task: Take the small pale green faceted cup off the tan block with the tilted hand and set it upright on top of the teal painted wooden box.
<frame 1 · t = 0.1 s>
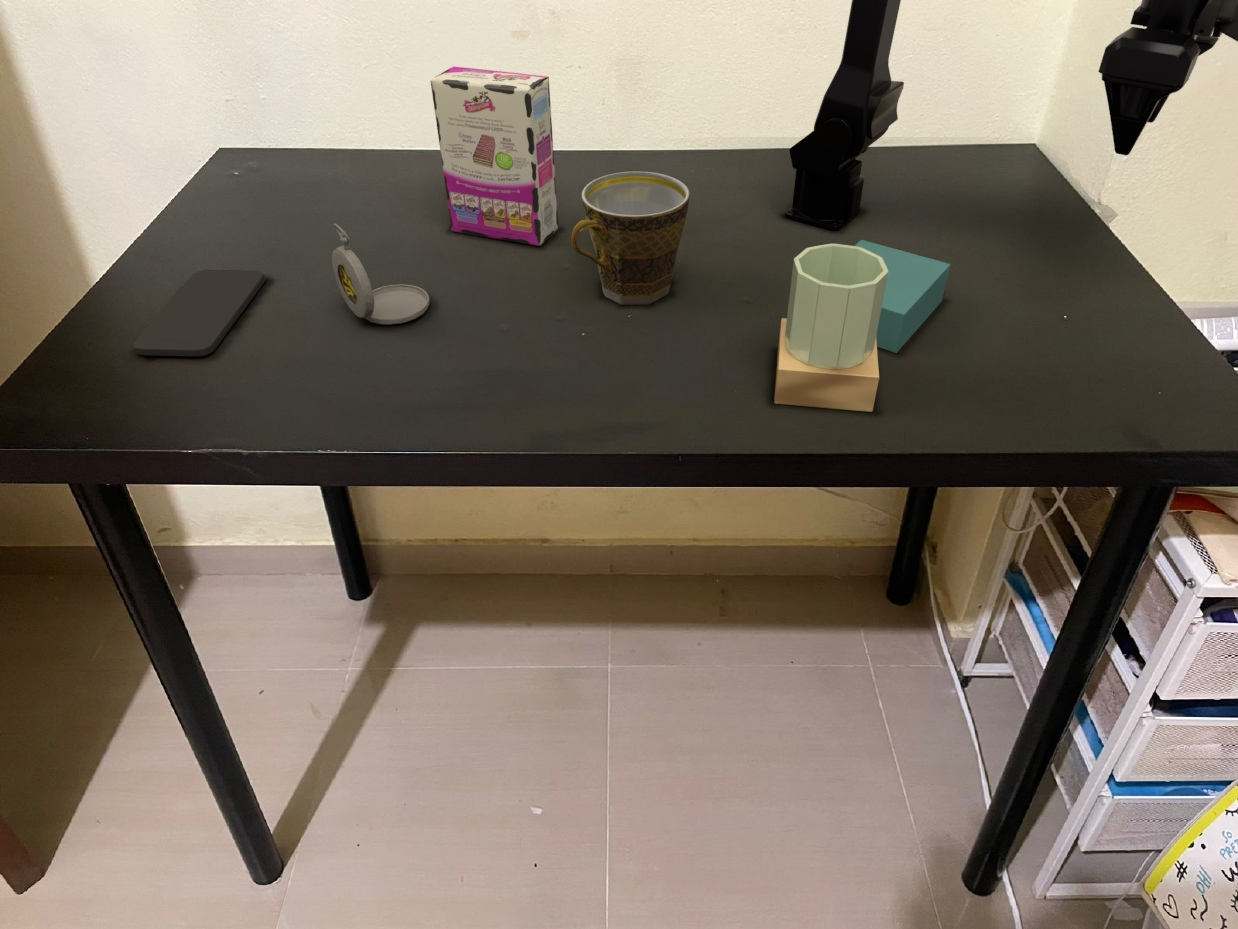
hand: (1135, 137, 83), 15 cm above the table, tool pointing down, fingers open, 9 cm apart
ceramic cup: (625, 296, 93), on the table
candy bar box: (505, 232, 104), on the table
pale green faceted cup: (828, 346, 78), point 3 cm above the table, touching tan block
pocket watch: (384, 315, 90), on the table
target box: (874, 312, 89), on the table
tan block: (823, 380, 81), on the table
phone: (204, 316, 90), on the table
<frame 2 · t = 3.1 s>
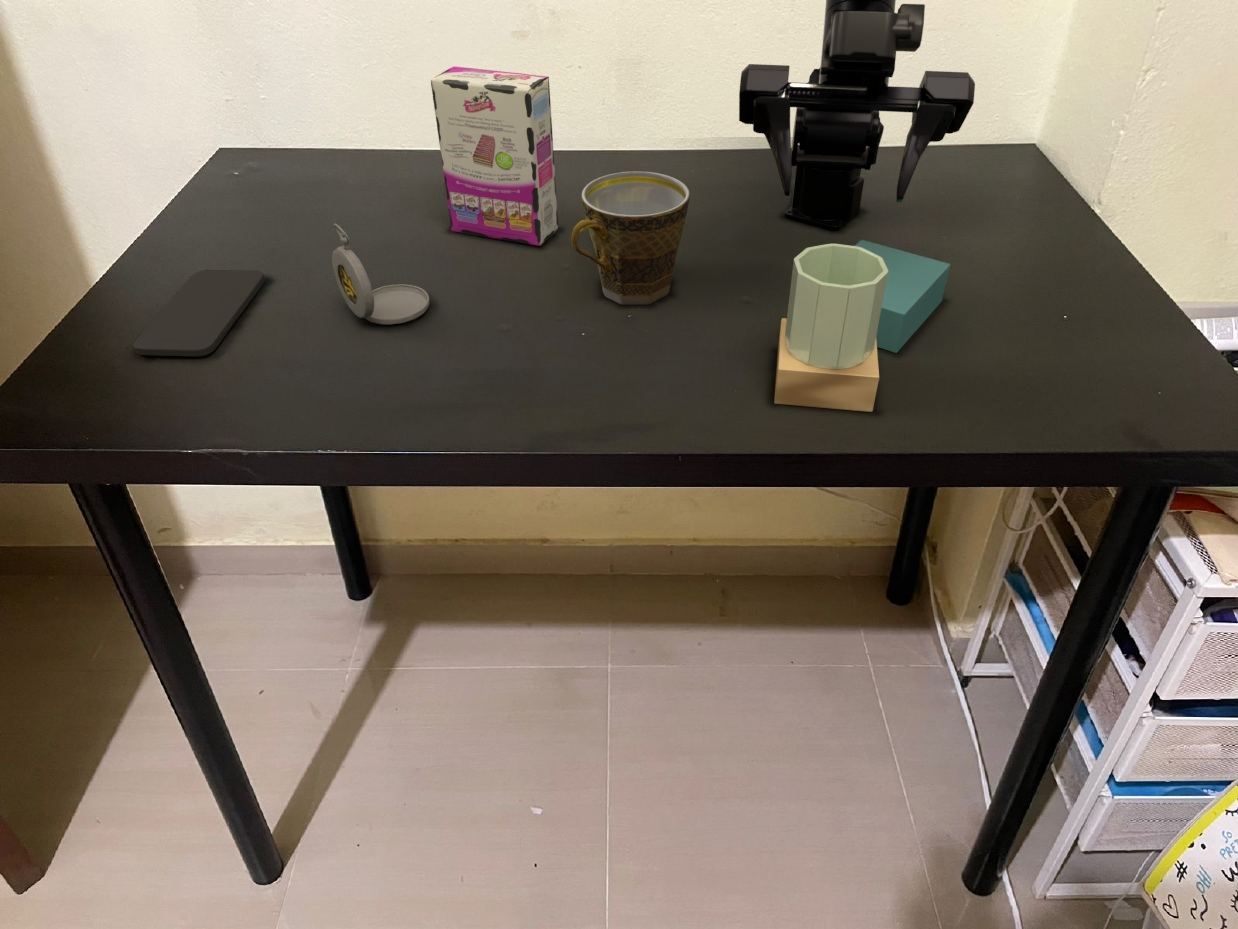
hand: (843, 197, 78), 13 cm above the table, tool tilted 45°, fingers open, 9 cm apart
nothing on the table moved.
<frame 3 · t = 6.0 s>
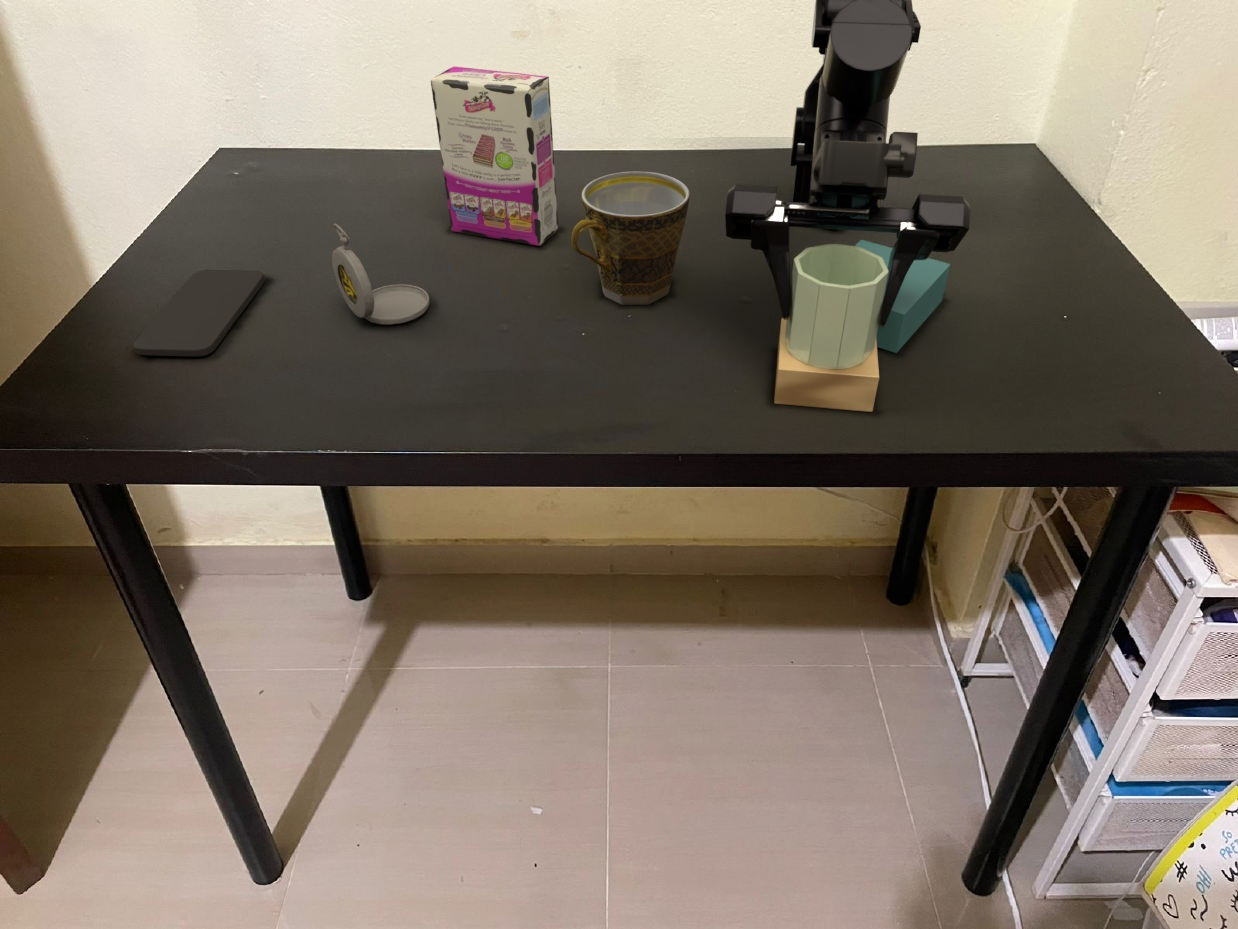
hand: (833, 322, 75), 7 cm above the table, tool tilted 45°, fingers closed on pale green faceted cup, 7 cm apart
pale green faceted cup: (828, 346, 78), point 4 cm above the table, touching gripper, tan block
everything else where it was.
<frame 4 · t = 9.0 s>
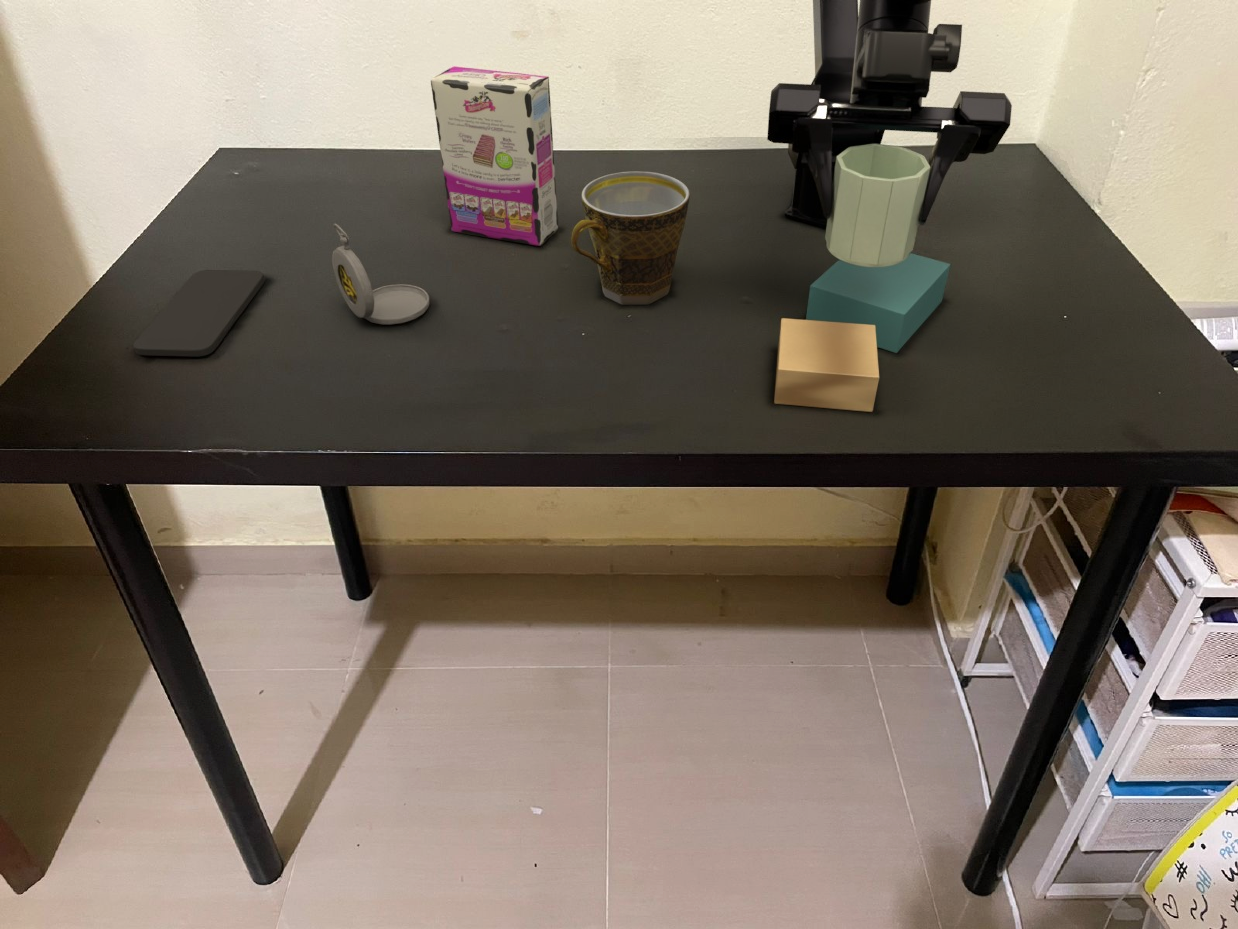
hand: (874, 220, 77), 12 cm above the table, tool tilted 45°, fingers closed on pale green faceted cup, 7 cm apart
pale green faceted cup: (867, 247, 80), point 9 cm above the table, touching gripper
everything else where it was.
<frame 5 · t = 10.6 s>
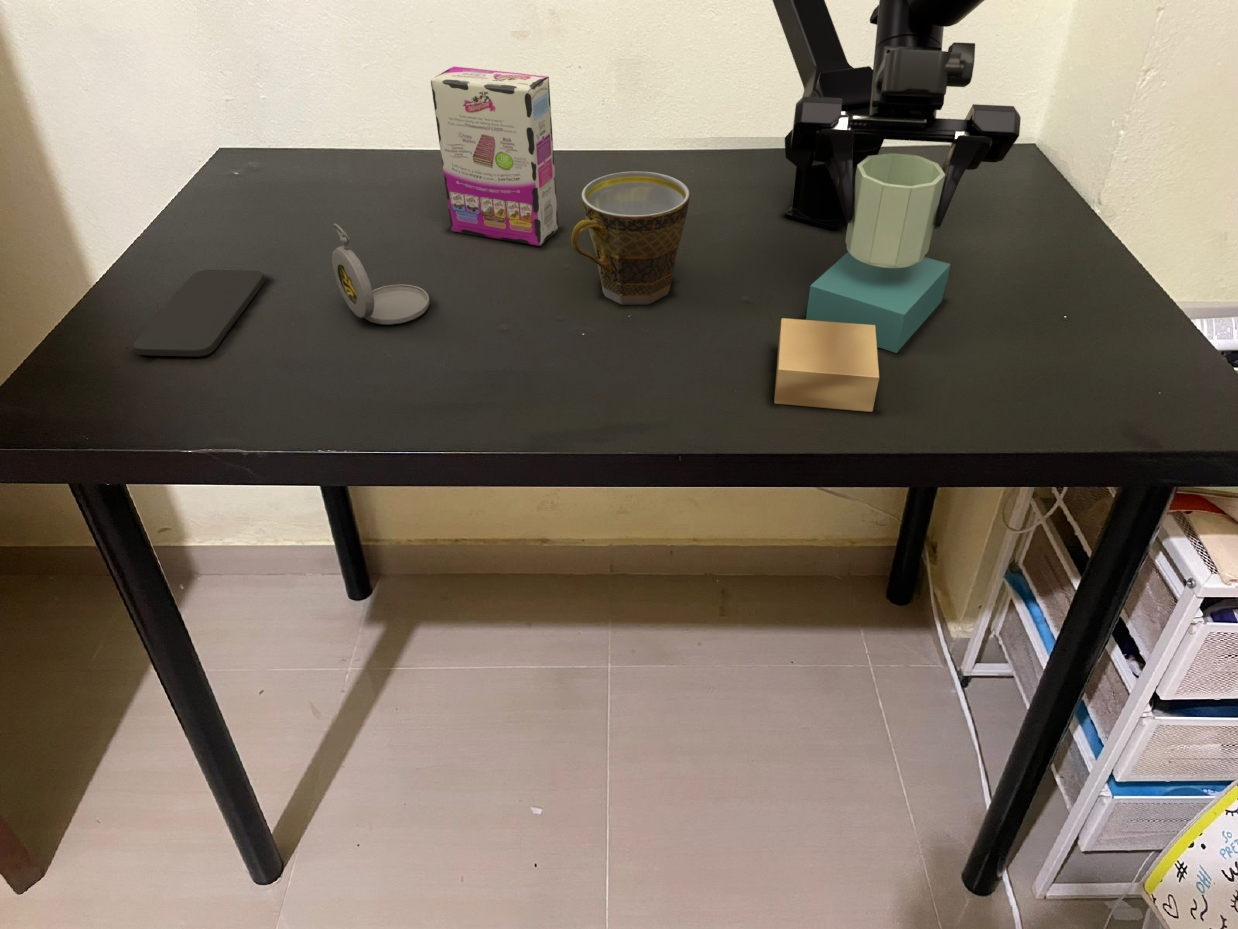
hand: (892, 224, 82), 10 cm above the table, tool tilted 45°, fingers closed on pale green faceted cup, 7 cm apart
pale green faceted cup: (885, 249, 85), point 6 cm above the table, touching gripper
everything else where it was.
when the fingers open (7 cm above the table, at t = 12.0 s): pale green faceted cup stays where it is, resting on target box.
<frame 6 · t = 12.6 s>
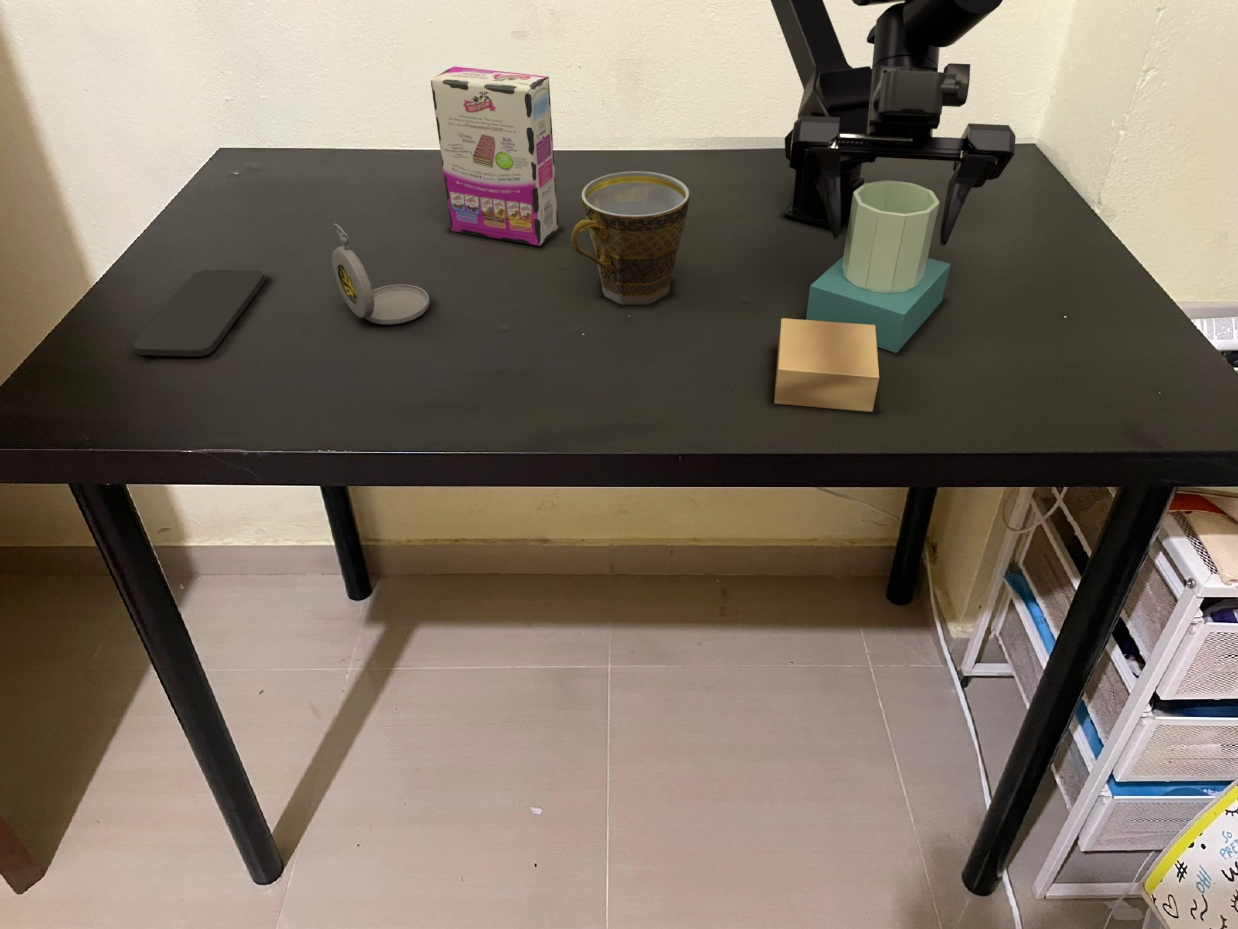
hand: (889, 241, 83), 8 cm above the table, tool tilted 45°, fingers open, 9 cm apart
pale green faceted cup: (881, 274, 87), point 4 cm above the table, touching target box
everything else where it was.
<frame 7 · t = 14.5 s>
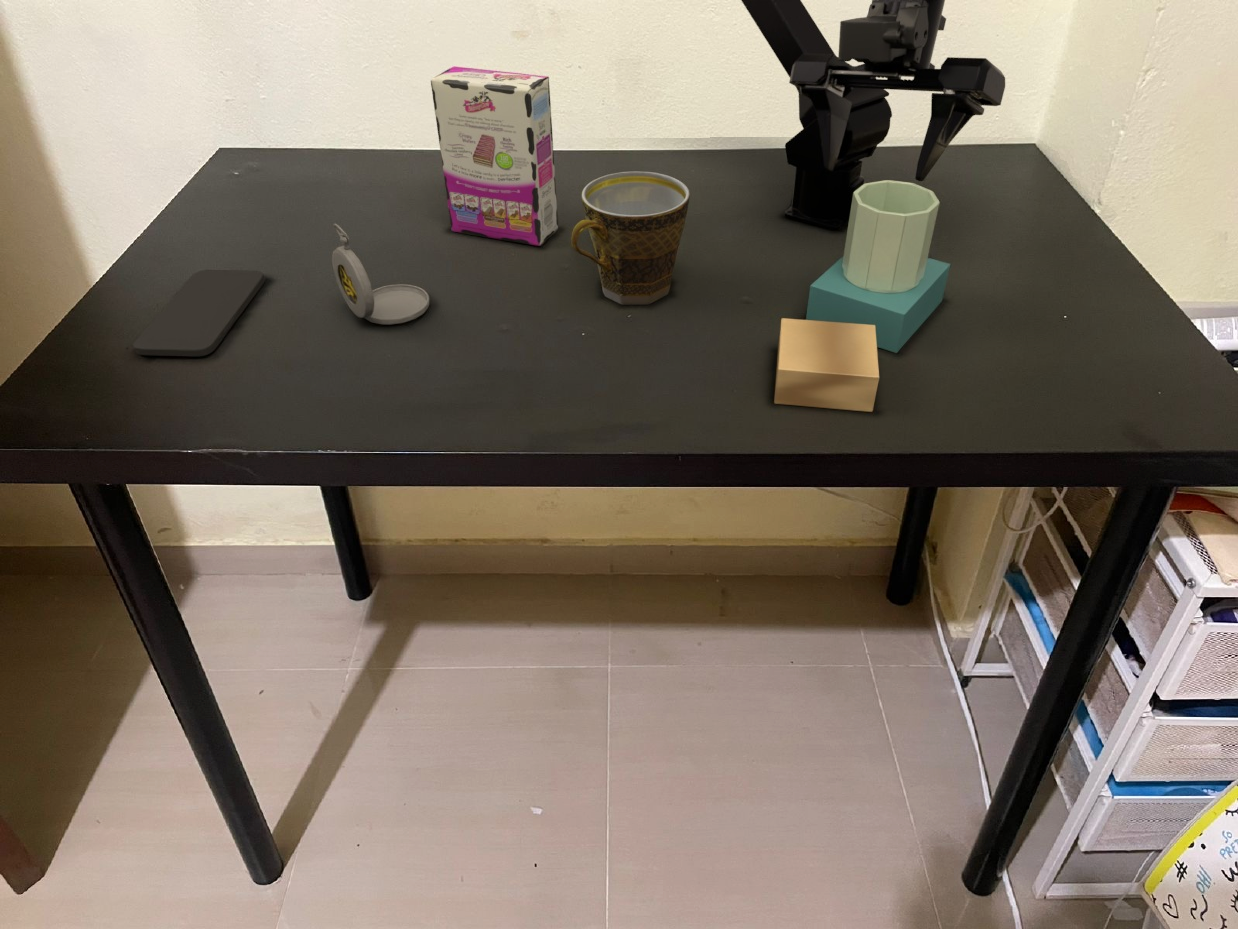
hand: (872, 175, 88), 10 cm above the table, tool tilted 30°, fingers open, 9 cm apart
nothing on the table moved.
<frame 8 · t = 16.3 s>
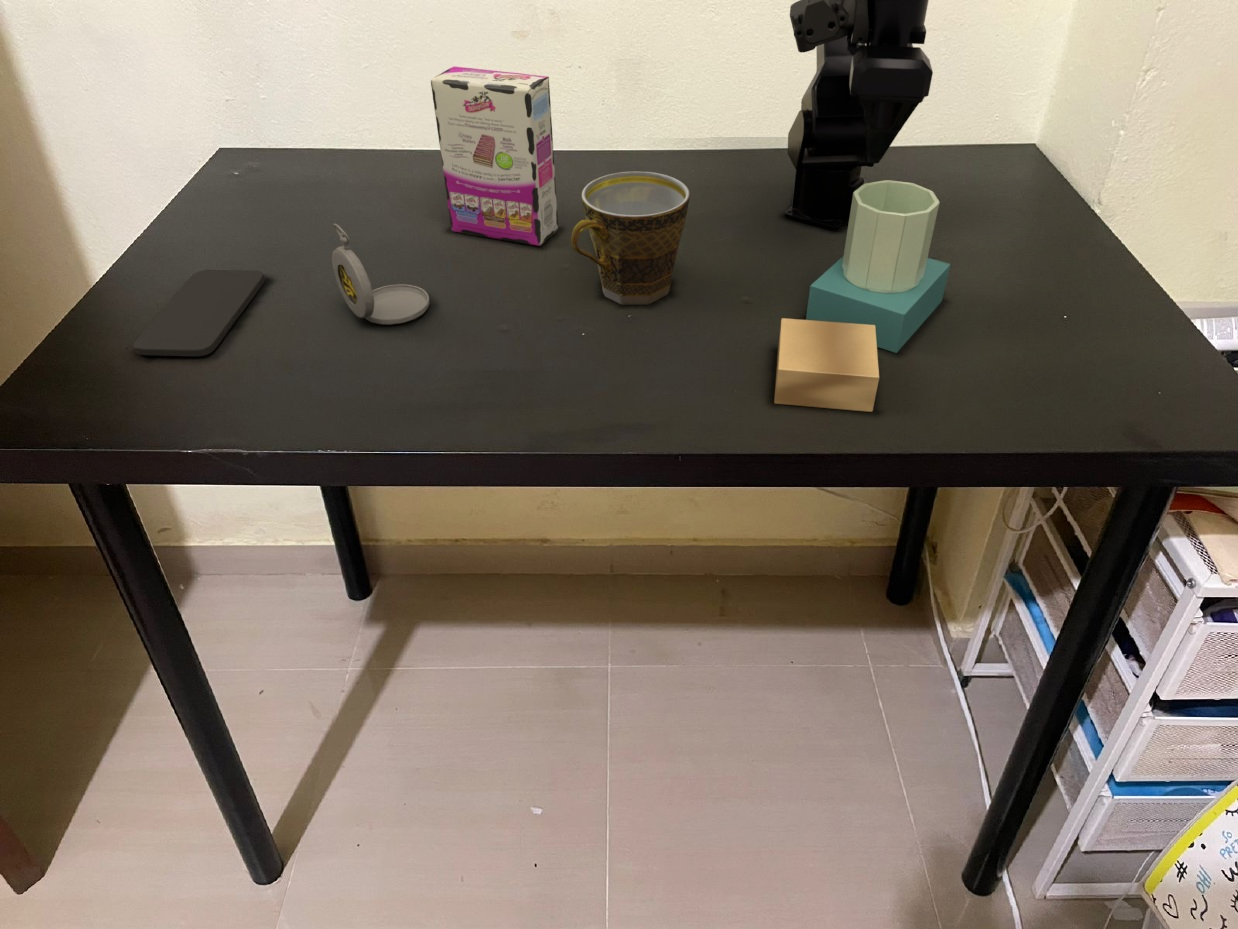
hand: (870, 143, 87), 13 cm above the table, tool pointing down, fingers open, 9 cm apart
nothing on the table moved.
at the end: pale green faceted cup inside the target area on the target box (0.0 cm from its centre), point 4.0 cm above the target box's base; pale green faceted cup tilted 0°; the gripper is holding nothing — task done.
